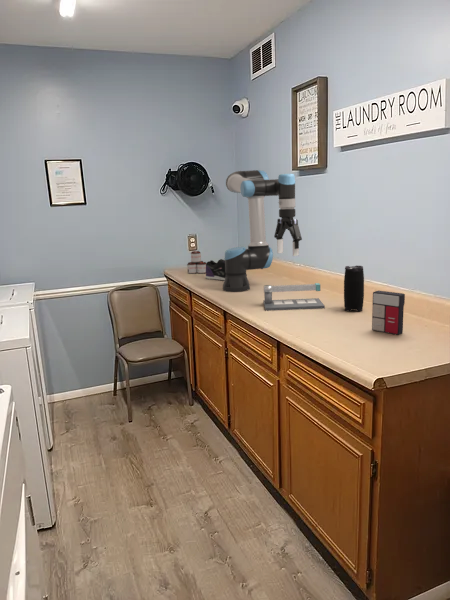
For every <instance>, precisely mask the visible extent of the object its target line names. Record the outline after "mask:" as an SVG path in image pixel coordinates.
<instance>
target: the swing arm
mask: <svg viewBox="0 0 450 600" xmlns="http://www.w3.org/2000/svg"><path fill="white" fill-rule="evenodd" d="M308 291H315V292H320V291H321V283H319V282H315V283H314V284H313V283H308V284H307V283H306V284H285V285H284V284H283V285H282V284H281V285H270V284H266V285H263V293H272V294H273V293H278V292H279V293H281V292H282V293H283V292H308Z"/></svg>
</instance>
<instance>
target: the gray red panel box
mask: <svg viewBox="0 0 450 600" xmlns="http://www.w3.org/2000/svg"><path fill="white" fill-rule="evenodd" d="M405 295H406V294H405V293H403V292H402V293H401V292H393V291H387V290H386V291H385V290H376V291H373V292H372V309H371V311H372V314H371V317H372V318H371V330H372V331H373V332H374V331H375V332H381V333H386V334H392V335H395V334H396V335H395V336H399V335H401V334H403V332H404V309H405V308H404V307H405V304H406V303H405V298H406V296H405Z"/></svg>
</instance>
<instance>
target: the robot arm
mask: <svg viewBox="0 0 450 600" xmlns="http://www.w3.org/2000/svg"><path fill="white" fill-rule="evenodd" d="M268 175H269V174H267V172H266V171H265V170H260V169H258V170H256V169H254V170H237V171H234V172H232V173H230V174H229V175H228V176H227V177H226V179H225V186H226V188H227V190H228V191H230V192H231V193H233V194H234V193H237V194H238V193H239V194H241V196H242V197H244V198H247V200H248V201H247V202H248V203H247V204H248V218H249V238H250V240H249V241H250V243H249V244H248V245H247V248H246V246H237V247H232V248H228V249H226V250H225V252H224V260H225V272H226V277H225V280H224V281H223V284H222V290H223V291H225V292H228V293H229V292H233V293H235V292H236V293H237V292H246V291H248V290H250V288H251V285H250V282H249V280H248V277H247V276H248V275H247V276H246V274H247V271H248V270H263V269H268V268H270V267H271V266H272V264H273V259H274V258H273V257H274V253H273V249H272V247H270V245H269V243H268V242H267V240H266V218H265V216H266V215H265V199H264V198H265V197H271V196H272V197H273V196H274V197H275V196H276V197H277V196H278V208H279V210H278V217H279V218H277V221H276V228H275V232H274V238H275V239H276V243H277V244H276V245H277V247H276V248H277V251H276V253H277V254H284V238H283V237H284V234H285V232H286V230H288V231H289V233H290V236H291V238H292V257H297V256H298V257H299V256H300V255H299V253H300V252H299V250H300V249H299V246H300V241H302V240H303V238H302V235H301V231H300V227H299V221H298V219H297V218H296V219H294V218H295V217H296V209H295V208H296V177H295V174H294V173H281V174H278V177H277V178H276V179H273V178H272V179H270V178H269V176H268Z"/></svg>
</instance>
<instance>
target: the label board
mask: <svg viewBox="0 0 450 600" xmlns="http://www.w3.org/2000/svg"><path fill="white" fill-rule="evenodd" d="M263 293H264V292H263ZM263 296H264V297H263V298H264V299H263V306H264V310H265V311H266V310H267V311H288V310H318V309H325V308H326V307H325V304H324V303H323V301H322V300H320V298H319V297H317V298H313V297H312V298H293V299H291V298H290V299H289V298H287V299H273V292H272V293H264V295H263Z"/></svg>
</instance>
